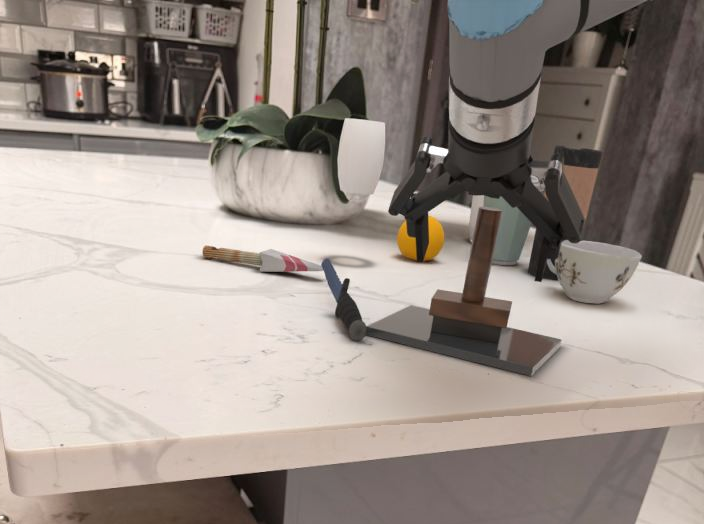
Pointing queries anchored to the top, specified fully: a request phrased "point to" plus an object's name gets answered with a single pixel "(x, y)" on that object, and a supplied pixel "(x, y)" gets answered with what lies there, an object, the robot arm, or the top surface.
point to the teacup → (593, 269)
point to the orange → (409, 243)
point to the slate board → (467, 342)
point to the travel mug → (581, 180)
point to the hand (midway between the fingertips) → (480, 261)
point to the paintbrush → (262, 259)
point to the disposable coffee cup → (510, 229)
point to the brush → (474, 290)
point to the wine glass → (360, 158)
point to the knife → (344, 302)
